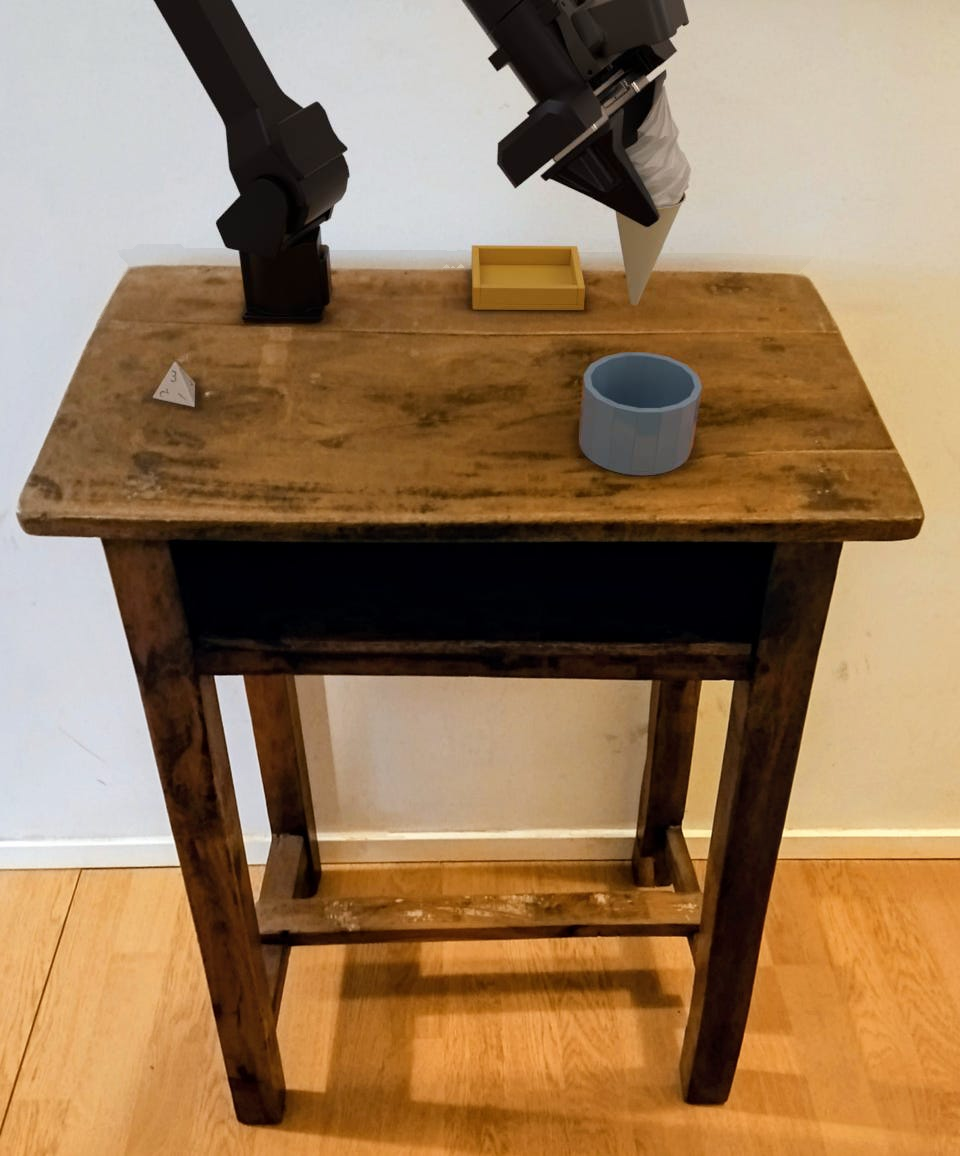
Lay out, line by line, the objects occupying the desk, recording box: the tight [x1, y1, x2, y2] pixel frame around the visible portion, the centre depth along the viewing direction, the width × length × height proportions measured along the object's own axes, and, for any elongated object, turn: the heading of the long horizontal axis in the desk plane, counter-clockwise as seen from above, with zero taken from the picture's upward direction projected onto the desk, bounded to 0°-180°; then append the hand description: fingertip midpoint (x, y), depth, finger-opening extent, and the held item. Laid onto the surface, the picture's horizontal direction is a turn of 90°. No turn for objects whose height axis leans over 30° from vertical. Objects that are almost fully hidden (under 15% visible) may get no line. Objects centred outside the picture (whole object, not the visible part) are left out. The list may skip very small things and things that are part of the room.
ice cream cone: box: [614, 85, 692, 306], centre depth 77 cm, size 5×5×15 cm
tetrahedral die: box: [152, 361, 196, 408], centre depth 84 cm, size 4×3×3 cm
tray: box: [471, 244, 586, 311], centre depth 98 cm, size 9×8×2 cm
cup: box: [578, 351, 703, 476], centre depth 79 cm, size 8×8×5 cm
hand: (666, 208), depth 77 cm, fingers closed on ice cream cone, 5 cm apart
